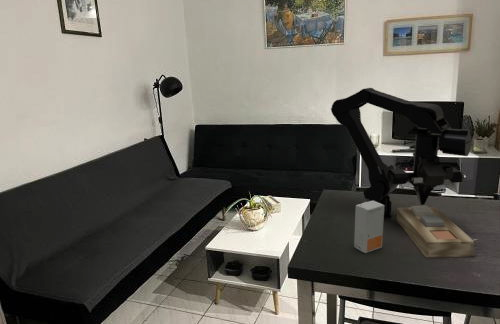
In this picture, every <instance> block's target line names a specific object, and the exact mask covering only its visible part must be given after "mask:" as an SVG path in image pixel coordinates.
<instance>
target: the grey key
mask: <svg viewBox="0 0 500 324" xmlns="http://www.w3.org/2000/svg"><path fill="white" fill-rule="evenodd" d="M420 221H421V222H422V223H423V225H424V226H425V227H444V221H443V220H442V219H440V218H439V217H438V216H437V215H428V216H420Z"/></svg>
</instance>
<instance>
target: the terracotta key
mask: <svg viewBox="0 0 500 324" xmlns="http://www.w3.org/2000/svg"><path fill="white" fill-rule="evenodd" d="M431 233H432V234H433V235H434V236H435V237H436V238H437V239H456V238H455V237H454V236H453V235H452V234H451V233H450V232H449V231H431Z"/></svg>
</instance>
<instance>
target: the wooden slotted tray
mask: <svg viewBox="0 0 500 324" xmlns="http://www.w3.org/2000/svg"><path fill="white" fill-rule="evenodd" d="M428 207H429V208H430V209H431V210H432V211H433V215H437V216H438V217H439V218H440V219H442V220H443V221H444V227H425V226H424V225H423V223H422V222H421V221H420V216H415V215H414V214H413V213H412V212H411V207H397V208H396V209H397V210H396V212H397V213H396V222H398V224H399V225H400V226H401V228H403V230H404V231H405V232H406V234H407V235H408V236H409V238H410V239H411V240H412V241H413V242H414V245H416V247H417V248H418V249H419V251H420V252H421V253H422V254H423V255H424V257H425V258H456V257H457V258H458V257H459V258H461V257H463V258H464V257H467V258H468V257H473V255H474V248H475V247H474V246H475V245H474V244H475V240H473V239H472V238H471V237H470V236H469V235H468V234H467V233H466V232H464V230H462V229H461V228H460V227H458V226H457V225H456V224H455V223H454V222H453V221H452V220H451V219H450V218H449V217H447V216H446V214H444V213H443V212H442V211H441V210H440V209H438V208H437V207H436V206H428ZM431 231H449V232H450V233H451V234H452V235H453V236H454V237H455V238H456V239H437V238H436V237H435V236H434V235H433V234H432V233H431Z"/></svg>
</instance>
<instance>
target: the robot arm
mask: <svg viewBox="0 0 500 324" xmlns="http://www.w3.org/2000/svg"><path fill="white" fill-rule="evenodd" d="M367 104H369V105H371V106H374V107H377V108H381V109H382V110H387V111H388V112H392V113H394V114H397V115H401V116H403V117H404V118H405V119H406V120H408V122H410V123H412V124H414V126H413V127H412V128H411V129H409V131H408V132H407V134H408V135H413V136H414V135H415V142H414V152H412V157H413V158H414V159H413V166H411V170H412V172H411V171H410V172H407V171H405V170H404V169H402V168H395V167H394V165H393V164H391V165H389V166H388V165H387V164H386V163H384V162H383V160H382V158H381V156H380V154H379V153H378V150H377V149H376V147H375V145H374V143H373V142H372V140H371V138H370V136H369V134H368V132H367V130H366V129H365V126H364V125H363V123H362V119H361V118H362V117H361V116H362V115H361V109H360V108H362V107H363V106H365V105H367ZM330 111H331V114H332V115H333V117H334V118H335V119H336V121H337V122H338V123H339V124H340V125H342V126H343V127H344V128H345V129H346V130H347V132H348V134H349V136H350V138H351V139H352V142H353V143H354V146H355V147H356V149H357V151H358V153H359V154H360V157H361V159H362V161H363V162H364V164H365V166H366V168H367V171H368V172H367V173H368V181H369V184H370V186H369V187H368V188H366V189H365V190H364V191H363V193H362V194H363V196H364V199H366V202H369V201H375V202H378V203H380V204H383V205H384V219H391V218H392V216H391V214H392V201H391V197H390V196H389V195H391V194H392V193H393V191H394V190H396V189H397V188H398V186H399V185H405V184H406V183H409V184H411V185H412V187H413V188H414V191H415V193H416V196H417V199H418V203H419V204H420V206H425V204H426V202H427V200H428V198H429V196H430V194H431V192H432V191H433V190H434V188H437V186H438V187H439V186H443V185H444V184H445V180H447V181H449V182H450V183H454V184H455V183H456V184H457V183H463V181H464V173H463V172H462V171H460V169H457V168H456V167H453V165H450V164H449V165H448V164H447V165H446V164H445V165H441V163H440V156H439V155H438V151H439V152H442V154H444V155H447V154H448V155H453V156H463V157H469V155H470V152H471V147H472V137H471V134H470V133H471V130H470V128H469V129H467V128H462V129H459V128H452V127H451V125H450V124H449V122H448V121H447V119H446V118H445V117H444V110H443V109H442V107H441V106H439V105H438V104H435V103H427V102H418V101H410V100H407V99H403V98H400V97H398V96H395V95H392V94H388V93H386V92H382V91H379V90H377V89H374V88H373V87H366V88H363V89H360V90H359V91H357V92H355V93H353V94H352V95H350V96H347V97H344V98H340V99H336V100H335V101H333V103H332V105H331V108H330Z"/></svg>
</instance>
